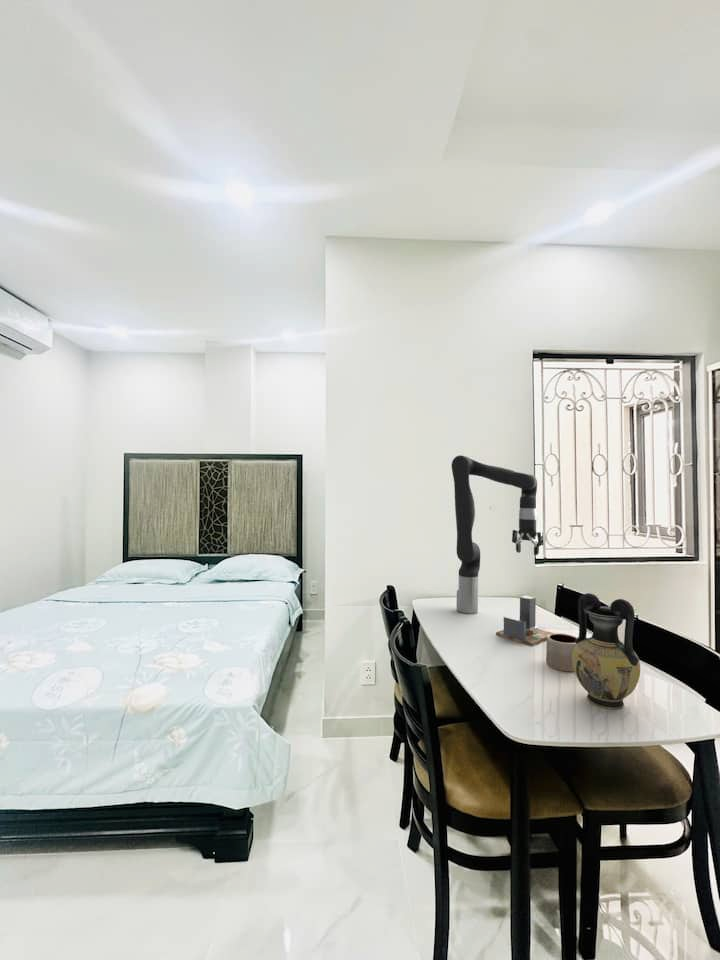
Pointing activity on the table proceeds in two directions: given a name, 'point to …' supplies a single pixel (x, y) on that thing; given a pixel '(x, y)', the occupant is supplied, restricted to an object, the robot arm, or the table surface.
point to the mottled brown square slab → (528, 637)
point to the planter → (560, 651)
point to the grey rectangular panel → (515, 628)
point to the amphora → (606, 652)
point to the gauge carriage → (528, 613)
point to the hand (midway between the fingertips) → (527, 553)
